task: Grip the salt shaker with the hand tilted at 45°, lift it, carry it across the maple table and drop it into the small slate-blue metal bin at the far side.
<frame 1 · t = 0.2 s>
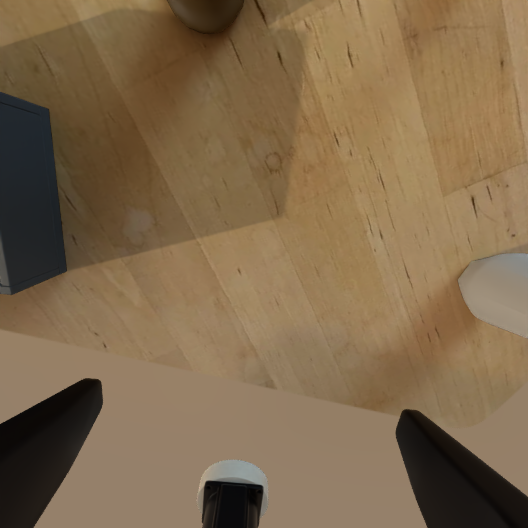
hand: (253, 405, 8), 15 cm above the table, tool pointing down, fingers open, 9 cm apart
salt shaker: (480, 278, 22), on the table
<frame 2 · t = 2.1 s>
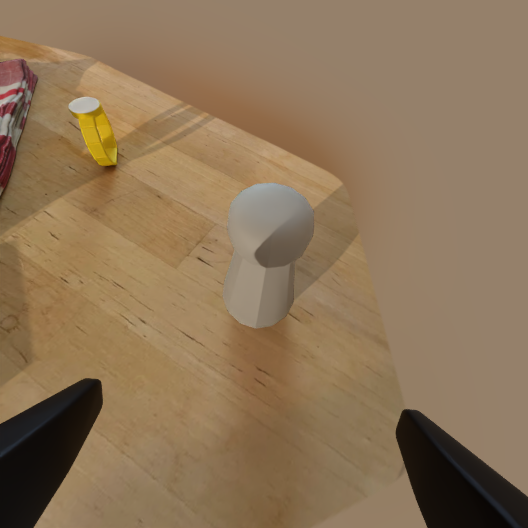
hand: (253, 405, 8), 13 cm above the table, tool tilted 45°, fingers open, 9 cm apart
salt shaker: (257, 302, 24), on the table
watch: (112, 158, 30), on the table
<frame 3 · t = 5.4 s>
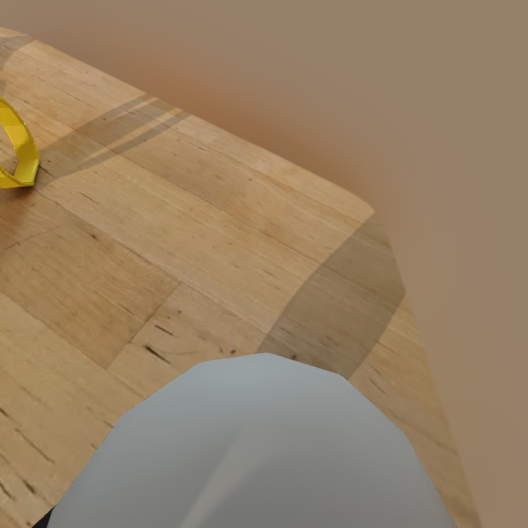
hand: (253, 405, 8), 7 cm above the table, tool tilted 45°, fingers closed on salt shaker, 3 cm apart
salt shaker: (243, 433, 14), on the table, touching gripper
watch: (30, 175, 20), on the table
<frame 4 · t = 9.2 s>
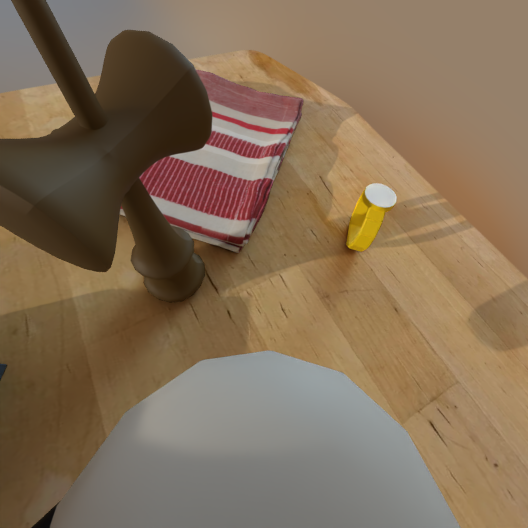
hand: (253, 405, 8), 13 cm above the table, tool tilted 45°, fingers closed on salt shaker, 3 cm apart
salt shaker: (244, 433, 14), point 6 cm above the table, touching gripper
kendama: (177, 278, 24), on the table
dish towel: (211, 155, 31), on the table
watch: (353, 236, 27), on the table
when the fingers open (10 cm above the table, at t = 13.3 s): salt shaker drops 2 cm, resting on bin.
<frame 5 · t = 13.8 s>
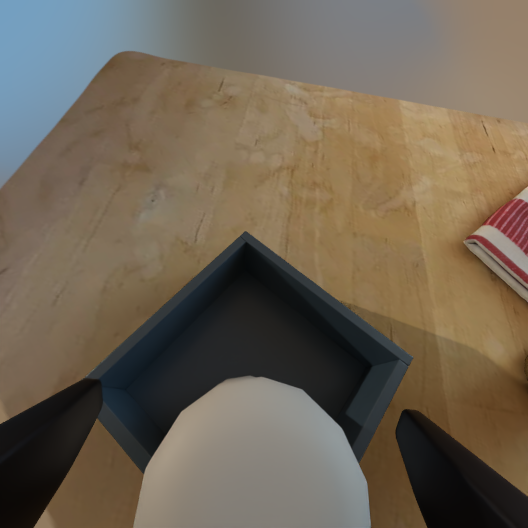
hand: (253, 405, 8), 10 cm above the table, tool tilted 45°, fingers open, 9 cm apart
bin: (251, 379, 18), on the table
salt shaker: (244, 432, 16), point 1 cm above the table, touching bin
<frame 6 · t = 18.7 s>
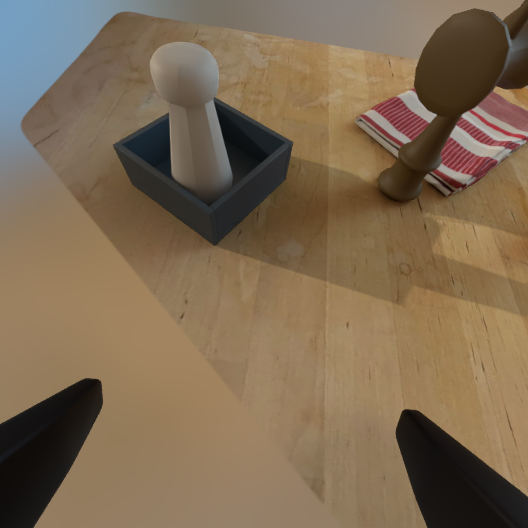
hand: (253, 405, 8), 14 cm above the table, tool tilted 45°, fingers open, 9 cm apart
bin: (211, 181, 30), on the table
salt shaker: (206, 197, 28), point 1 cm above the table, touching bin
kendama: (395, 189, 32), on the table
dish towel: (445, 131, 38), on the table
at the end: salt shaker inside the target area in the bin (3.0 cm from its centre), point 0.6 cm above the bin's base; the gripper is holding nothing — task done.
